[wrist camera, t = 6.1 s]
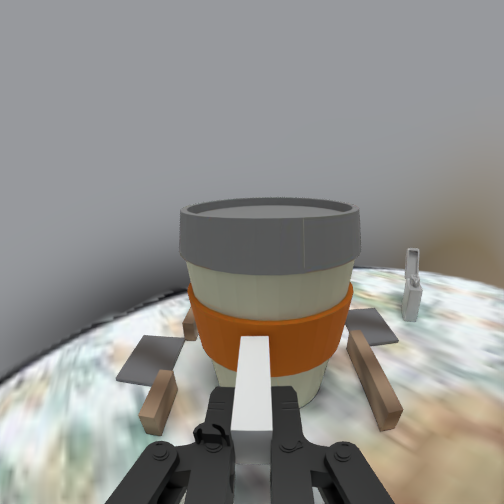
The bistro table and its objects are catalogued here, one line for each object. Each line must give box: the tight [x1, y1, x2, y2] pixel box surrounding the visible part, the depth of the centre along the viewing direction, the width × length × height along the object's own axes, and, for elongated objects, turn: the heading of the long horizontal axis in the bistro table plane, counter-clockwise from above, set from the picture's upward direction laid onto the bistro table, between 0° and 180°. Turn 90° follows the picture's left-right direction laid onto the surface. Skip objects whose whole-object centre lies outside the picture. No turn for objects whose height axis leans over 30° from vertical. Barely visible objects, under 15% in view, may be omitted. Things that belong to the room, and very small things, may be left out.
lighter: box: [401, 248, 423, 322], centre depth 32 cm, size 7×2×8 cm, turn 157°
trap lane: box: [116, 307, 403, 436], centre depth 28 cm, size 27×28×2 cm
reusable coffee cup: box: [179, 197, 361, 408], centre depth 21 cm, size 13×13×15 cm
